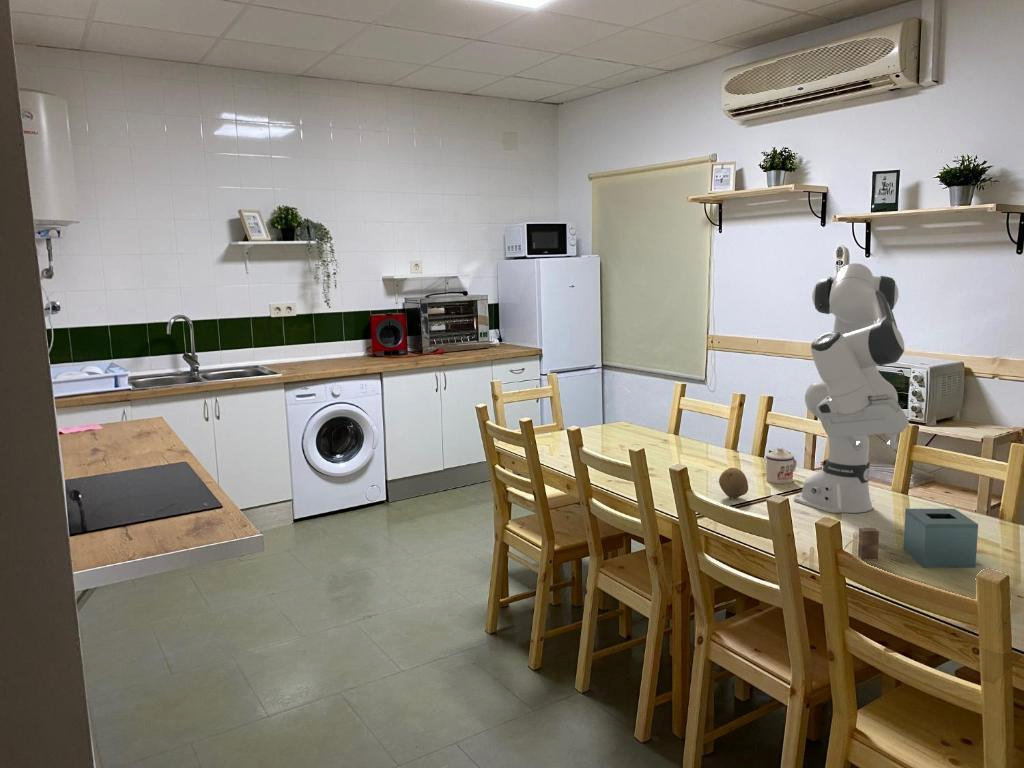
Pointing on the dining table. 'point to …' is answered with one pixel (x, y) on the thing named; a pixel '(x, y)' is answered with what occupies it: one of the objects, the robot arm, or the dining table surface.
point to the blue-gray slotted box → (940, 538)
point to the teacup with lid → (780, 467)
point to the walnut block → (868, 543)
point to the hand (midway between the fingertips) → (875, 449)
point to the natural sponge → (733, 483)
